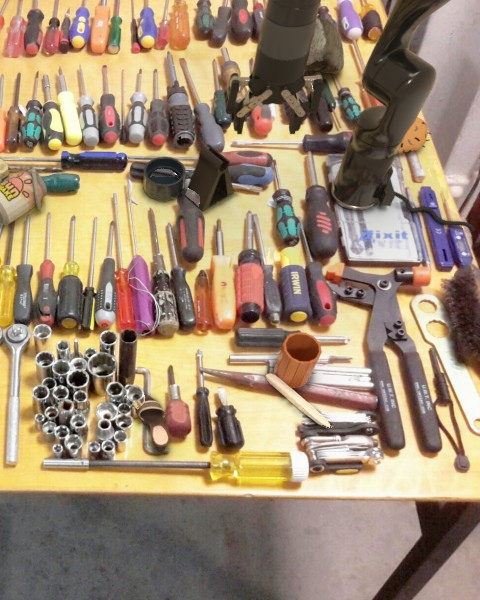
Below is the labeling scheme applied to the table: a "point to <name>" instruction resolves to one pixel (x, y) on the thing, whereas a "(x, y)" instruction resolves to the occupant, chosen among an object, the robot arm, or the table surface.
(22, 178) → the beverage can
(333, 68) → the stone
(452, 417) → the table surface
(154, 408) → the heeled mule
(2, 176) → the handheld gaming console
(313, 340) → the small pot
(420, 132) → the toy
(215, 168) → the phone stand
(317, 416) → the light wooden rod
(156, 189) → the big pot
